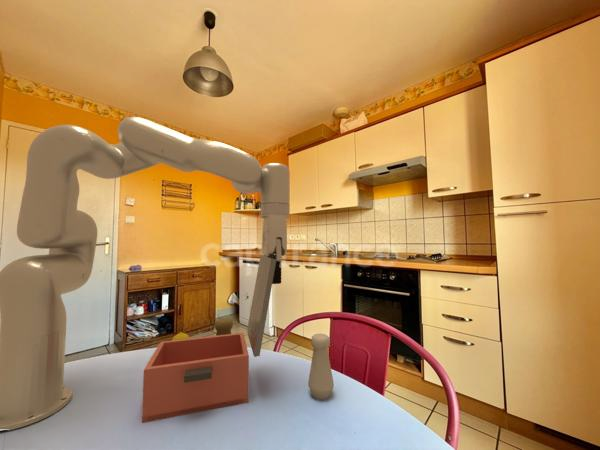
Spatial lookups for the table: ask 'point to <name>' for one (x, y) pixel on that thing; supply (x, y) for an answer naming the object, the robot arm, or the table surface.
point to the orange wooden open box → (195, 376)
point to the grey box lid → (260, 302)
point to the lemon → (180, 336)
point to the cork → (223, 326)
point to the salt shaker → (320, 368)
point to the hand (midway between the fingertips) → (274, 283)
